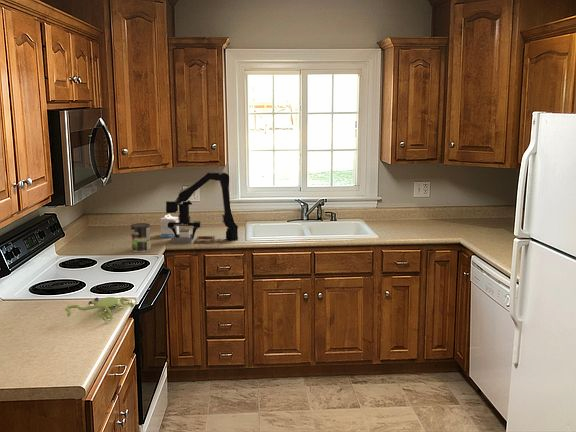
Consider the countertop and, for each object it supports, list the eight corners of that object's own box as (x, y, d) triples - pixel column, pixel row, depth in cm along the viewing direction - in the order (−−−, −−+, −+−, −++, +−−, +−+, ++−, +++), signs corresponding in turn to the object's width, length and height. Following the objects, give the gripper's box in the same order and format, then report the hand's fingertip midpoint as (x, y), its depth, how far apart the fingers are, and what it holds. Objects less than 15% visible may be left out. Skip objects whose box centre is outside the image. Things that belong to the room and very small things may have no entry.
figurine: (59, 324, 228) (57, 309, 227) (97, 301, 254) (96, 288, 253) (104, 328, 224) (103, 313, 223) (138, 304, 250) (137, 291, 248)
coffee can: (139, 253, 331) (138, 227, 328) (128, 250, 338) (126, 225, 335) (155, 249, 339) (153, 224, 336) (143, 246, 345) (142, 222, 343)
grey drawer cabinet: (193, 239, 362) (193, 233, 362) (190, 243, 352) (190, 237, 351) (174, 239, 362) (174, 234, 362) (171, 244, 352) (171, 238, 351)
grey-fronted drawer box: (190, 239, 361) (190, 228, 359) (188, 242, 354) (188, 231, 352) (181, 239, 361) (181, 228, 359) (179, 242, 354) (179, 231, 352)
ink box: (174, 238, 366) (173, 216, 363) (160, 238, 367) (159, 215, 365) (179, 235, 374) (178, 213, 372) (166, 234, 376) (165, 213, 373)
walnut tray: (214, 239, 363) (214, 236, 363) (212, 244, 352) (212, 240, 351) (197, 239, 363) (197, 236, 363) (194, 244, 351) (194, 240, 351)
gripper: (202, 209, 362) (202, 235, 365) (170, 210, 362) (171, 235, 365) (199, 213, 351) (200, 240, 354) (166, 213, 351) (167, 240, 354)
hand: (185, 238), depth 357 cm, fingers open, 9 cm apart
